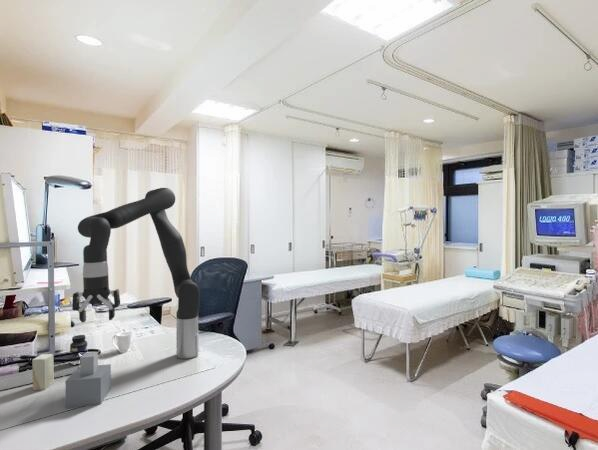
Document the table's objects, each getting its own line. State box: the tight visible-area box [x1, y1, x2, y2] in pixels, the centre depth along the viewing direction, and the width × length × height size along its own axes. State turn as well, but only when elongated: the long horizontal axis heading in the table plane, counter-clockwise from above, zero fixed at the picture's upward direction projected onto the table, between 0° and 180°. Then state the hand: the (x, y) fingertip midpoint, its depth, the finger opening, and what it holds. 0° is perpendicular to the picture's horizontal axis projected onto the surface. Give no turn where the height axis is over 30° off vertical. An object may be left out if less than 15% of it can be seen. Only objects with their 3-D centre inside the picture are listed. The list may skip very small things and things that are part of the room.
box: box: [31, 353, 55, 391], centre depth 120 cm, size 5×4×11 cm
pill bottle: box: [69, 334, 88, 355], centre depth 141 cm, size 6×6×11 cm
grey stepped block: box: [64, 351, 112, 409], centre depth 113 cm, size 10×10×15 cm
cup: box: [111, 330, 134, 354], centre depth 154 cm, size 7×10×8 cm
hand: (97, 320), depth 116 cm, fingers open, 8 cm apart
